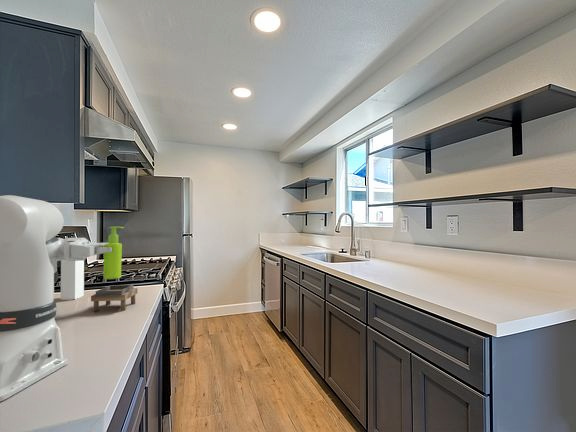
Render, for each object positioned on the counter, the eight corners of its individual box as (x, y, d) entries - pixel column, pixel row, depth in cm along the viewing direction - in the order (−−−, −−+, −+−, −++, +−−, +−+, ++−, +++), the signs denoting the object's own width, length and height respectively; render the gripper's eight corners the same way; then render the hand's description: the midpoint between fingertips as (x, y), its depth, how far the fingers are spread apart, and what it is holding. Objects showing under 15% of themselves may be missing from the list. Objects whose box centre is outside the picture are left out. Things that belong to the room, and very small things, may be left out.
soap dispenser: (115, 279, 109) (116, 226, 110) (99, 278, 110) (101, 226, 112) (126, 277, 115) (128, 226, 116) (111, 276, 116) (113, 226, 117)
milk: (83, 296, 131) (84, 247, 131) (74, 299, 125) (75, 248, 125) (69, 296, 130) (70, 247, 131) (60, 300, 124) (61, 248, 125)
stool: (124, 311, 108) (125, 290, 108) (90, 312, 107) (90, 291, 107) (137, 302, 119) (137, 284, 119) (106, 303, 118) (106, 285, 118)
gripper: (93, 254, 122) (128, 253, 124) (61, 260, 102) (102, 260, 103) (94, 239, 123) (128, 239, 124) (61, 242, 102) (103, 242, 104)
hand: (116, 248), depth 114 cm, fingers closed on soap dispenser, 6 cm apart
